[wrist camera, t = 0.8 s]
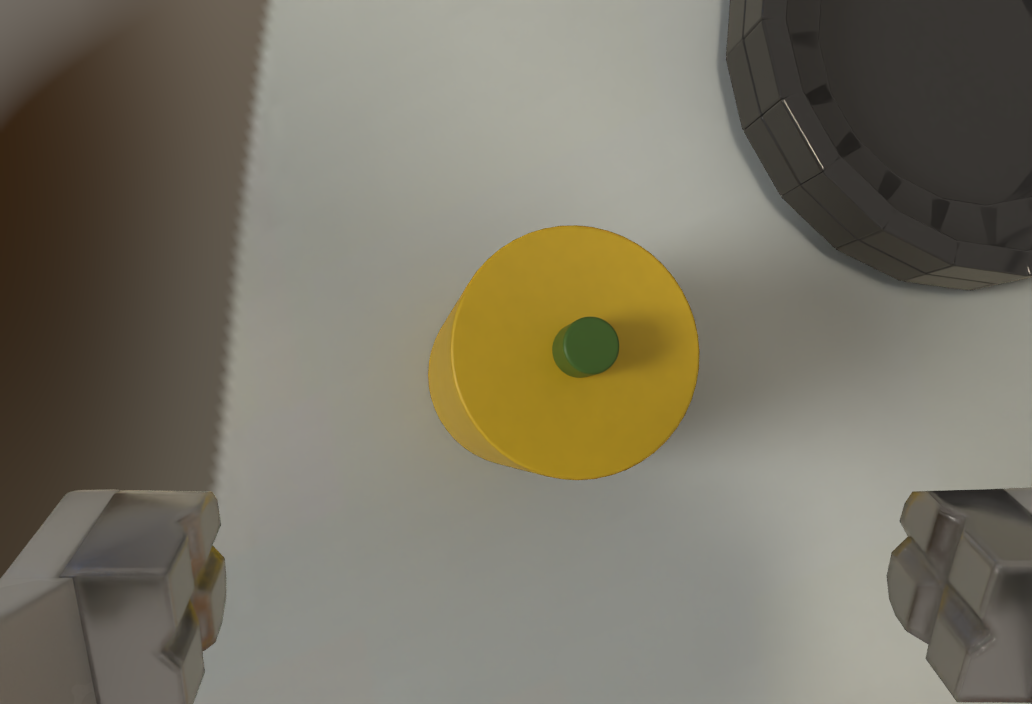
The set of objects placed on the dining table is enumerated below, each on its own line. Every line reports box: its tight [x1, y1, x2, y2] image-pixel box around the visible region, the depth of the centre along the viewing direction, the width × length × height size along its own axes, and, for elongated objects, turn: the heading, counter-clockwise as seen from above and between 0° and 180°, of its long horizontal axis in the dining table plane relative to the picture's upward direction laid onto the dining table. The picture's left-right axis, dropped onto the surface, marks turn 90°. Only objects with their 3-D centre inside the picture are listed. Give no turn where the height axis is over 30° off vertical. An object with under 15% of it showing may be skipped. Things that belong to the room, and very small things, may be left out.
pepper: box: [428, 225, 699, 480], centre depth 22 cm, size 6×6×9 cm
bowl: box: [726, 0, 1032, 290], centre depth 28 cm, size 16×16×4 cm
